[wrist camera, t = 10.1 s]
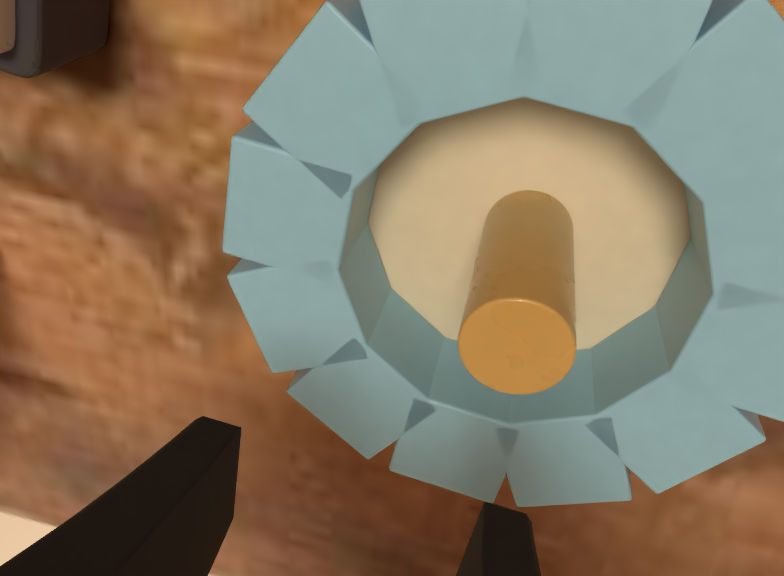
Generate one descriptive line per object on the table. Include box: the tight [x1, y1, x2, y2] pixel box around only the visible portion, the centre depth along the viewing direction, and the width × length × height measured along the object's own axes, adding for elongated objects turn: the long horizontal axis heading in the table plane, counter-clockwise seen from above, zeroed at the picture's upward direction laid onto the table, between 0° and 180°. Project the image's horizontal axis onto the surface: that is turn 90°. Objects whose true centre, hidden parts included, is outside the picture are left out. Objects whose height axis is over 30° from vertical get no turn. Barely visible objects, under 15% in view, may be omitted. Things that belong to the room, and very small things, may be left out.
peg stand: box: [368, 97, 691, 395], centre depth 14 cm, size 9×9×6 cm
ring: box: [222, 0, 784, 507], centre depth 15 cm, size 12×12×3 cm
